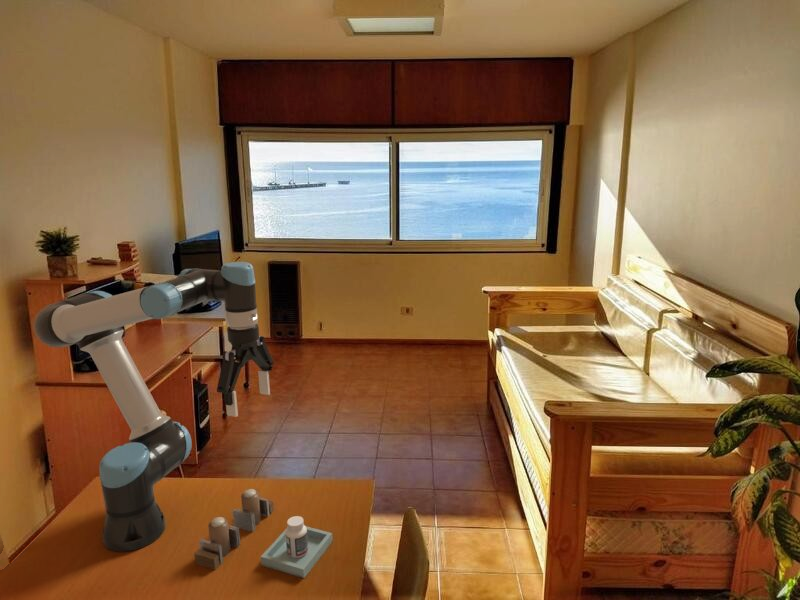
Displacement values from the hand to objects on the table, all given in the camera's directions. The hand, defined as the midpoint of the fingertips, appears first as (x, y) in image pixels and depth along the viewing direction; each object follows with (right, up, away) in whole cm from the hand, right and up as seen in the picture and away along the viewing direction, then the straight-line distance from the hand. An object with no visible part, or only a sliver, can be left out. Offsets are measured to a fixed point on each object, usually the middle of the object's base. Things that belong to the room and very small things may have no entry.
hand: (249, 404), depth 148 cm
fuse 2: (-2, -33, +9) cm, 35 cm away
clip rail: (-4, -35, +4) cm, 35 cm away
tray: (+13, -37, -3) cm, 39 cm away
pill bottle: (+13, -36, -3) cm, 39 cm away
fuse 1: (-7, -37, -2) cm, 37 cm away
